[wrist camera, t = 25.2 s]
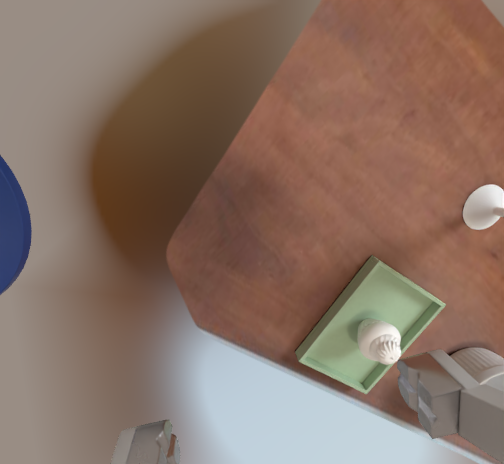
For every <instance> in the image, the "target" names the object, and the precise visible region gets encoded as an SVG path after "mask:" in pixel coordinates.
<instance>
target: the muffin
mask: <svg viewBox="0 0 504 464" xmlns="http://www.w3.org/2000/svg"><path fill="white" fill-rule="evenodd" d="M357 341H358V346H359V350H360V352H361V353H362V355H363V356H365V357H366V358H368V359H370V360H373V361H379V362H380V363H382V364H385V365H389V364H393V363H394V362H396V361H397V360H399V357H400V356H401V350H400V342H401V336H400V333H399V331H398V330H397V329H396V327H394V326H393V325H391V324H389V323H386V322H384V321H381V320H377V319H372V318H369V319H365V320H363V321H362V322H360V324H359V326H358V338H357Z"/></svg>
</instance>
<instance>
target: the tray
mask: <svg viewBox="0 0 504 464" xmlns="http://www.w3.org/2000/svg"><path fill="white" fill-rule="evenodd" d="M445 306H446V304H444V303H443V302H442V301H440V300H439V299H438V298H436V297H435V296H433V295H432V294H430V293H429V292H427V291H426V290H424V289H423V288H421V287H420V286H418V285H417V284H415V283H413V282H412V281H410V280H409V279H407V278H406V277H404V276H403V275H401V274H400V273H398V272H397V271H395V270H394V269H392V268H391V267H389V266H388V265H386V264H385V263H383V262H382V261H380V260H379V259H377V258H376V257H374V256H373V255H371V257H370V258H369V259H368V261H367V262H366V263H365V264H364V266H363V267H362V268H361V269H360V271H359V272H358V273H357V274H356V276H355V277H354V278H353V279H352V281H351V282H350V283H349V285H348V286H347V287H346V288H345V290H344V291H343V292H342V293H341V295H340V296H339V297H338V298H337V300H336V301H335V302H334V303H333V305H332V306H331V307H330V309H329V310H328V311H327V312H326V314H325V315H324V316H323V317H322V319H321V320H320V321H319V322H318V324H317V325H316V326H315V327H314V329H313V330H312V331H311V333H310V334H309V335H308V336H307V338H306V339H305V340H304V341H303V343H302V344H301V345H300V346H299V348H298V349H297V350H296V351H295V353H296V356H297V359H298V361H299V362H301V363H303V364H305V365H307V366H309V367H311V368H313V369H315V370H317V371H319V372H321V373H323V374H326V375H328V376H330V377H332V378H334V379H336V380H338V381H340V382H342V383H344V384H346V385H348V386H350V387H352V388H355V389H357V390H359V391H361V392H363V393H365V394H367V393H368V392H369V391H370V390H371V389H372V387H373V386H374V385H375V384H376V383H377V382H378V381H379V380H380V378H381V377H382V376H383V375H384V374H385V373H386V372H387V371H388V370H389V368H390V367H391V366H392V365H393V364H394V363H395V362H394V363H393V364H389V365H385V364H382V363H380V362H379V361H373V360H370V359H368V358H366V357H365V356H363V355H362V353H361V352H360V350H359V346H358V341H357V338H358V326H359V324H360V322H362V321H363V320H365V319H369V318H372V319H377V320H381V321H384V322H386V323H389V324H391V325H393V326H394V327H396V329H397V330H398V331H399V333H400V336H401V342H400V350H401V355H402V354H403V353H404V352H405V350H406V349H407V348H408V347H409V346H410V345H411V344H412V343H413V342H414V340H415V339H416V338H417V337H418V336H419V335H420V334H421V333H422V331H423V330H424V329H425V328H426V327H427V326H428V325H429V324H430V322H431V321H432V320H433V319H434V318H435V317H436V316H437V315H438V313H439V312H440V311H441V310H442V309H443V308H444V307H445Z"/></svg>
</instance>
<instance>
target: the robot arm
mask: <svg viewBox="0 0 504 464" xmlns="http://www.w3.org/2000/svg"><path fill="white" fill-rule="evenodd" d="M397 368H398V370H399V371H400V372H401V374H400V376H399V377H398V386H399V389H400V392H401V394H402V396H403V398H404V400H405V402H406V403H407V404H408V406H409V407H410V408H412V409H413V410H415V411H417V412H418V420H419V421H420V423H421V424H422V425H423V427H424V428H425V430H426V431H427V432H428V434H429V435H430V436H431V438H432V439H434V438H438V437H443V436H447V435H451V434H455V433H458V435H460V436H461V437H463V438H464V439H466V440H467V441H469V442H470V443H472V444H473V445H475V446H476V447H478V448H480V449H481V450H483V451H484V452H486V453H487V454H489V455H490V456H492V457H493V458H495V459H496V460H498V461H499V462H501V463H502V464H504V392H503V391H501V390H498V389H496V388H493V387H491V386H489V385H486V384H483V385H480V384H479V383H478V382H477V381H476V380H475V379H474V378H473V377H471V376H470V375H469V374H468V373H467V372H466V371H465V370H464V369H463V368H462V367H461V366H460V365H458V364H457V363H456V362H455V361H454V360H453V359H452V358H451V357H450V356H449V355H448V354H447V353H446V352H444V351H443V350H441V349H437V350H434V351H430V352H426V353H421V354H418V355H414V356H410V357H407V358H403V359H399V360H398V362H397ZM171 432H172V425H171V423H170V420H163V421H159V422H154V423H150V424H145V425H141V426H137V427H134V428H129V429H125V430H123V431H122V432H121V434H120V436H119V438H118V442H117V444H116V447H115V451H114V454H113V457H112V460H111V463H110V464H179V463H180V449H179V444H178V440H177V437H176V436H175V435H173V434H172V433H171Z"/></svg>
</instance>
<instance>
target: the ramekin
mask: <svg viewBox="0 0 504 464" xmlns="http://www.w3.org/2000/svg"><path fill="white" fill-rule="evenodd" d="M450 357H451V358H452V359H453V360H454V361H455V362H456V363H457V364H458V365H460V366H461V367H462V368H463V369H464V370H465V371H466V372H467V373H468V374H469V375H470V376H471V377H473V378H474V379H475V380H476V381H477V382H478V383H479V384H480V385H483V384H486V385H489V386H491V387H493V388H496V389H498V390H501V391H503V392H504V358H502V357H500V356H499V355H497V354H495V353H494V352H492V351H489V350H487V349H484V348H474V347H472V348H465V349H462V350H459V351H457V352H455V353H453V354H452V355H451V356H450Z"/></svg>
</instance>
